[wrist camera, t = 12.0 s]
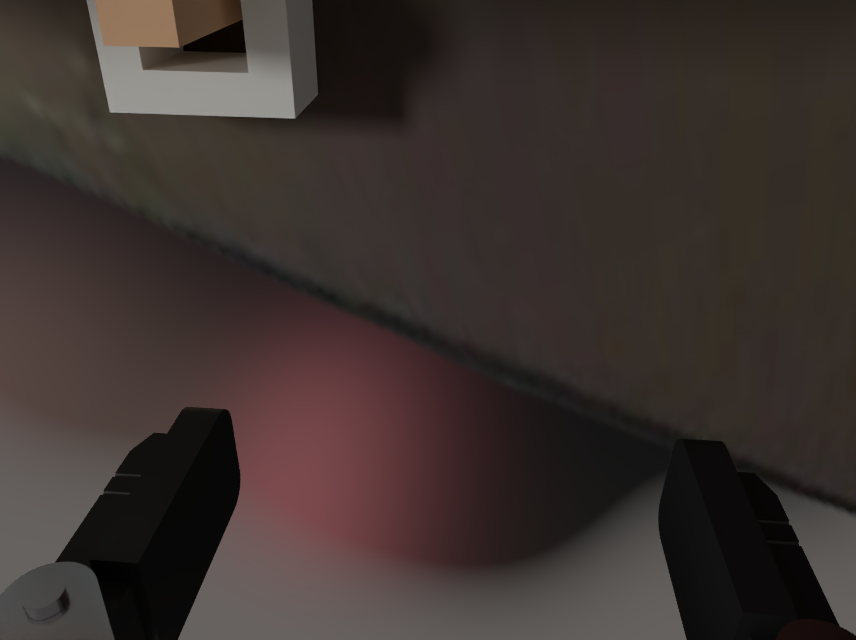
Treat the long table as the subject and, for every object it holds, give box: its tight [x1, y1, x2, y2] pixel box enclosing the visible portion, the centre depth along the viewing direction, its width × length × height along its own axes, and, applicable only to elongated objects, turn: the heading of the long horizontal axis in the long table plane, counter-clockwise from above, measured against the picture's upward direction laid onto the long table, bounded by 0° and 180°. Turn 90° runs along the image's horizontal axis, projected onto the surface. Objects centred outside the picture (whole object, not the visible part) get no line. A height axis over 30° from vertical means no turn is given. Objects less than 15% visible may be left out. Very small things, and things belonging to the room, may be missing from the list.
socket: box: [87, 0, 318, 119], centre depth 34 cm, size 9×9×5 cm
